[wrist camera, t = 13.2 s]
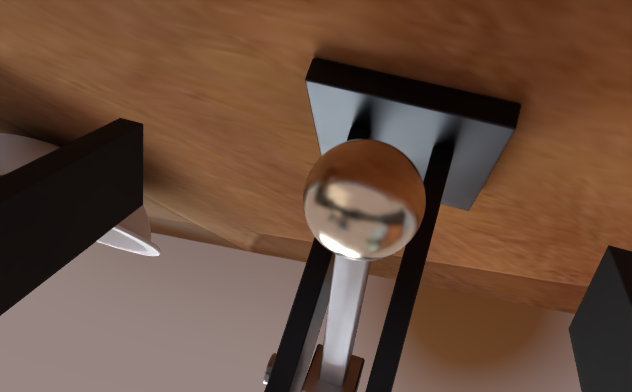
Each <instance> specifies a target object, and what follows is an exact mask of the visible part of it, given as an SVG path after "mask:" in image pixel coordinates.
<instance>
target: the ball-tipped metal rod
mask: <svg viewBox="0 0 632 392" xmlns="http://www.w3.org/2000/svg"><path fill="white" fill-rule="evenodd" d="M425 206H426V195H425V188H424V184H423V181H422V178H421V175H420V173H419V171H418V170H417V168H416V166H415V165H414V163H413V162H412V161H411V160H410V159H409V158H408V157H407V156H406V155H405V154H404V153H403V152H402V151H400V150H399V149H398V148H396V147H394V146H392V145H390V144H388V143H385V142H382V141H379V140H374V139H355V140H350V141H346V142H343V143H341V144H339V145H336V146H334V147H333V148H331V149H330V150H328V151H327V152H326V153H324V154H323V155H322V156H321V157H320V158H319V159H318V160H317V162H316V163H315V164H314V166H313V167H312V169H311V170H310V172H309V174H308V177H307V179H306V182H305V186H304V191H303V209H304V214H305V218H306V221H307V223H308V226H309V228H310V230H311V231H312V233H313V234H314V236H315V237H316V239H317V240H318V241H319V242H320V243H321V244H322V245H323V246H324V247H326V248H327V249H328V250H330V251H331V252H333V253H334V254H335V261H334V268H333V276H332V283H331V291H330V298H329V306H328V313H327V320H326V328H325V336H324V343H323V345H320V344H318V345H317V348H316V351H315V354H314V356H313V359H312V362H311V364H310V367H309V370H308V373H307V375H306V378H305V381H304V383H303V386H302V389H301V392H357V389H358V386H359V382H360V377H361V373H362V369H363V365H364V361H365V360H364V359H363V358H360V357H357V356H354V355H352V351H353V346H354V341H355V337H356V332H357V326H358V322H359V317H360V312H361V308H362V303H363V298H364V293H365V289H366V284H367V279H368V274H369V269H370V265H371V261H374V260H379V259H383V258H386V257H388V256H390V255H392V254H394V253H396V252H398V251H399V250H400V249H402V248H403V247H404V246H405V245H407V244H408V242H409V241H410V240H411V239H412V238H413V237H414V235H415V234H416V232H417V230H418V229H419V227H420V225H421V222H422V219H423V217H424V212H425Z"/></svg>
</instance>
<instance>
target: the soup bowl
mask: <svg viewBox="0 0 632 392" xmlns="http://www.w3.org/2000/svg"><path fill="white" fill-rule="evenodd" d="M58 148H60V147H59V146H56V145H53V144H50V143H47V142H44V141H41V140H37V139H33V138H29V137H25V136H20V135H13V134H1V133H0V175H4V174H7V173H9V172H11V171H13V170H15V169H17V168H19V167H21V166H24V165H26V164H28V163H30V162H32V161H34V160H36V159H38V158H40V157H42V156H44V155H46V154H48V153H50V152H52V151H54V150H56V149H58ZM96 242H99V243H102V244H105V245H108V246H112V247H115V248H119V249H122V250H126V251H129V252H134V253H137V254H142V255H149V256H159V255H160V253H161V250H160V248H158V246H156V245H155V244H154V243H152V242H151V229H150V223H149V219H148V216H147V213H146V211H145V208H144V206H143V205H142V206H141V207H140V208H138V209H137V210H136V211H135V212H133V213H132V214H131V215H129V216H128V217H127V218H126V219H124V220H123V221H122V222H120V223H119V224H118V225H117V226H115V227H114V228H113V229H111V230H110V231H109V232H107V233H106V234H105V235H104V236H102V237H101V238H100V239H98V240H97V241H96Z"/></svg>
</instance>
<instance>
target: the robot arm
mask: <svg viewBox="0 0 632 392" xmlns="http://www.w3.org/2000/svg"><path fill="white" fill-rule="evenodd" d="M142 205H143V124H141V123H138V122H134V121H130V120H126V119H122V118H119V119H117V120H115V121H113V122H111V123H109V124H107V125H105V126H103V127H101V128H99V129H97V130H95V131H93V132H91V133H89V134H87V135H85V136H82V137H80V138H78V139H76V140H74V141H72V142H70V143H68V144H66V145H64V146H62V147H60V148H58V149H56V150H54V151H52V152H50V153H48V154H46V155H44V156H42V157H40V158H38V159H36V160H34V161H32V162H30V163H28V164H26V165H24V166H21V167H19V168H17V169H15V170H13V171H11V172H9V173H7V174H4V175H0V316H1V315H2V314H3V313H4V312H6V311H7V310H8V309H10V308H11V307H12V306H14V305H15V304H16V303H17V302H19V301H20V300H21V299H22V298H24V297H25V296H26V295H28V294H29V293H30V292H32V291H33V290H34V289H35V288H37V287H38V286H39V285H40V284H42V283H43V282H44V281H46V280H47V279H48V278H50V277H51V276H52V275H53V274H55V273H56V272H57V271H58V270H60V269H61V268H62V267H64V266H65V265H66V264H68V263H69V262H70V261H71V260H73V259H74V258H75V257H77V256H78V255H79V254H80V253H82V252H83V251H84V250H85V249H87V248H88V247H89V246H91V245H92V244H93V243H95V242H96V241H97V240H98V239H100V238H101V237H102V236H104V235H105V234H106V233H107V232H109V231H110V230H111V229H113V228H114V227H115V226H117V225H118V224H119V223H120V222H122V221H123V220H124V219H126V218H127V217H128V216H129V215H131V214H132V213H133V212H135V211H136V210H137V209H138V208H140V207H141V206H142ZM569 333H570V338H571V343H572V347H573V352H574V357H575V362H576V367H577V372H578V376H579V381H580V386H581V391H582V392H632V251H628V250H624V249H620V248H616V247H612V246H609V245H608V247H607V249H606V252H605V254H604V256H603V258H602V260H601V262H600V264H599V266H598V268H597V270H596V272H595V275H594V277H593V279H592V281H591V283H590V285H589V287H588V289H587V291H586V293H585V295H584V298H583V300H582V302H581V304H580V306H579V308H578V310H577V312H576V314H575V316H574V318H573V320H572V323H571V325H570V327H569Z"/></svg>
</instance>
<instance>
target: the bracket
mask: <svg viewBox="0 0 632 392" xmlns="http://www.w3.org/2000/svg"><path fill="white" fill-rule="evenodd" d="M305 82H306V86H307V91H308V96H309V101H310V105H311V110H312V115H313V120H314V124H315V129H316V134H317V139H318V143H319V148H320V153H321V156H322V155H323V154H324V153H326V152H327V151H328V150H330V149H331V148H333V147H334V146H336V145H339V144H341V143H343V142H346V141H350V140H355V139H374V140H379V141H382V142H385V143H388V144H390V145H392V146H394V147H396V148H398V149H399V150H400V151H402V152H403V153H404V154H405V155H406V156H407V157H408V158H409V159H410V160H411V161H412V162H413V163H414V165H415V166H416V168H417V170H418V171H419V173H420V175H421V178H422V181H423V184H424V188H425V195H426V206H425V212H424V217H423V219H422V222H421V225H420V227H419V229H418V230H417V232H416V234H415V235H414V237H413V238H412V239H411V240H410V241H409V242H408V244H407V245H406V246H405V250H404V254H403V257H402V261H401V264H400V268H399V272H398V275H397V279H396V283H395V286H394V290H393V294H392V297H391V301H390V305H389V308H388V312H387V316H386V320H385V323H384V326H383V330H382V334H381V337H380V341H379V345H378V348H377V352H376V355H375V359H374V363H373V367H372V370H371V374H370V377H369V381H368V385H367V389H366V392H391V391H392V387H393V383H394V380H395V376H396V372H397V368H398V364H399V360H400V357H401V353H402V349H403V345H404V341H405V338H406V334H407V330H408V326H409V322H410V319H411V315H412V311H413V307H414V303H415V299H416V295H417V292H418V288H419V284H420V280H421V277H422V273H423V269H424V265H425V261H426V257H427V254H428V250H429V246H430V242H431V238H432V234H433V231H434V227H435V223H436V219H437V215H438V211H439V208H440V204H444V205H448V206H452V207H455V208H459V209H463V210H467V211H469V210H470V208H471V206H472V205H473V203H474V201H475V199H476V198H477V196H478V194H479V192H480V191H481V189H482V187H483V185H484V184H485V182H486V180H487V178H488V177H489V175H490V173H491V171H492V170H493V168H494V166H495V164H496V163H497V161H498V159H499V157H500V156H501V154H502V152H503V150H504V149H505V147H506V145H507V143H508V142H509V140H510V138H511V136H512V135H513V133H514V131H515V129H516V127H517V122H518V118H519V113H520V109H521V105H520V104H517V103H513V102H508V101H504V100H499V99H495V98H491V97H486V96H482V95H477V94H473V93H468V92H464V91H459V90H455V89H451V88H446V87H442V86H437V85H433V84H428V83H424V82H419V81H415V80H411V79H406V78H402V77H397V76H393V75H388V74H384V73H379V72H375V71H370V70H366V69H362V68H357V67H353V66H348V65H344V64H339V63H335V62H330V61H326V60H322V59H317V58H313V59H312V62H311V65H310V67H309V70H308V73H307V76H306V78H305ZM334 261H335V254H334V253H333V252H331V251H330V250H328V249H327V248H326V247H324V246H323V245H322V244H321V243H320V242H319V241H318V240H317V239H316V237H315V238H314V241H313V244H312V247H311V250H310V254H309V257H308V260H307V263H306V266H305V269H304V272H303V275H302V278H301V281H300V284H299V287H298V290H297V293H296V297H295V299H294V302H293V305H292V308H291V312H290V315H289V318H288V321H287V324H286V328H285V330H284V333H283V336H282V339H281V342H280V345H279V348H278V352H277V354H276V353H274V354H273V355H272V356H271V358H270V360H269V362H268V365H267V367H266V371H265V375H264V383H265V384H267V385H266V388H265V391H264V392H301V389H302V386H303V383H304V380H305V377H306V374H307V371H308V367H309V364H310V361H311V358H312V354H313V351H314V348H315V344H316V341H317V338H318V335H319V332H320V328H321V325H322V322H323V319H324V315H325V312H326V309H327V306H328V302H329V298H330V291H331V283H332V276H333V268H334Z"/></svg>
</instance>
